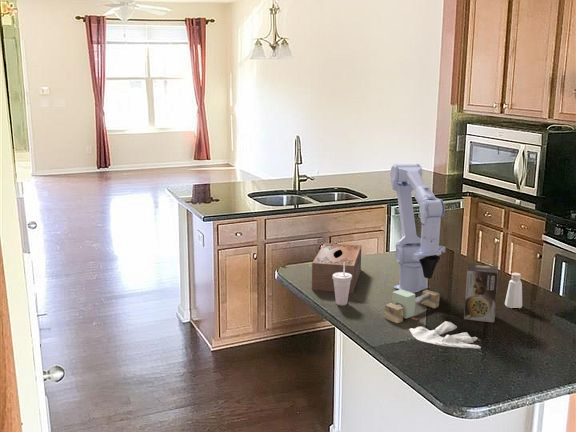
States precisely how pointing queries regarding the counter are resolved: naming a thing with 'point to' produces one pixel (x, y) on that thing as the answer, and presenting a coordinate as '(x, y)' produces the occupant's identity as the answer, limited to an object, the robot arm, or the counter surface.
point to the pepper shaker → (514, 292)
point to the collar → (404, 302)
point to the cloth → (448, 340)
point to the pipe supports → (398, 310)
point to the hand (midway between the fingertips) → (427, 277)
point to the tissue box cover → (335, 265)
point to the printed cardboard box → (481, 293)
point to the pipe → (417, 300)
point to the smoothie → (342, 286)
